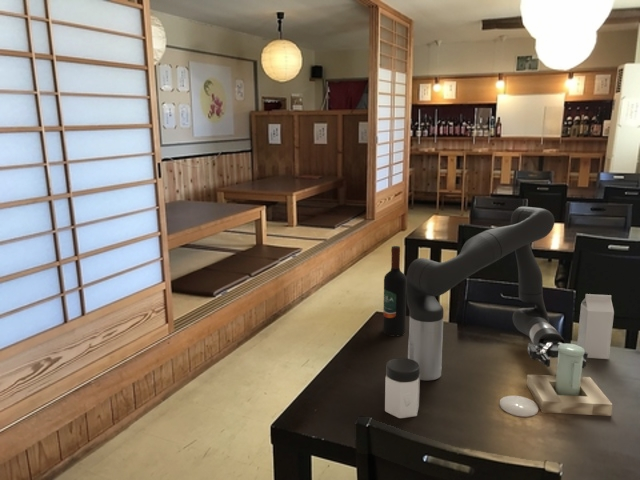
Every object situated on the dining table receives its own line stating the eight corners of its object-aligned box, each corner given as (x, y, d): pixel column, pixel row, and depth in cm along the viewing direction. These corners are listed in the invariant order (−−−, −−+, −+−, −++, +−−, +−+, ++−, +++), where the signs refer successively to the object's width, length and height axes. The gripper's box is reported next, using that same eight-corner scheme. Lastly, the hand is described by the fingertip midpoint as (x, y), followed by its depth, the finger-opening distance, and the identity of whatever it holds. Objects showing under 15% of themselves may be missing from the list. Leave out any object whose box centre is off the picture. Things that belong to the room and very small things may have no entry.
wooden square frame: (542, 412, 126) (542, 401, 126) (526, 384, 140) (527, 374, 139) (611, 415, 124) (612, 404, 124) (588, 387, 138) (590, 377, 137)
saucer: (504, 415, 125) (504, 413, 125) (496, 396, 134) (496, 394, 134) (542, 417, 124) (543, 415, 124) (532, 398, 133) (532, 396, 133)
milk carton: (608, 359, 154) (615, 299, 150) (583, 358, 156) (589, 298, 152) (601, 349, 161) (607, 291, 157) (576, 348, 162) (582, 290, 158)
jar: (390, 420, 124) (391, 374, 121) (379, 403, 131) (380, 359, 129) (425, 415, 126) (427, 370, 123) (412, 399, 133) (413, 355, 131)
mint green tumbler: (560, 408, 128) (565, 356, 125) (550, 393, 136) (554, 343, 133) (585, 409, 127) (591, 356, 124) (574, 394, 135) (579, 343, 132)
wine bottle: (406, 336, 173) (409, 249, 167) (384, 336, 174) (385, 249, 167) (403, 327, 181) (405, 244, 174) (382, 327, 181) (383, 244, 175)
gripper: (521, 326, 149) (538, 349, 133) (573, 327, 147) (596, 351, 131) (519, 350, 150) (536, 376, 135) (571, 352, 149) (593, 379, 133)
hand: (565, 364), depth 133 cm, fingers open, 8 cm apart
